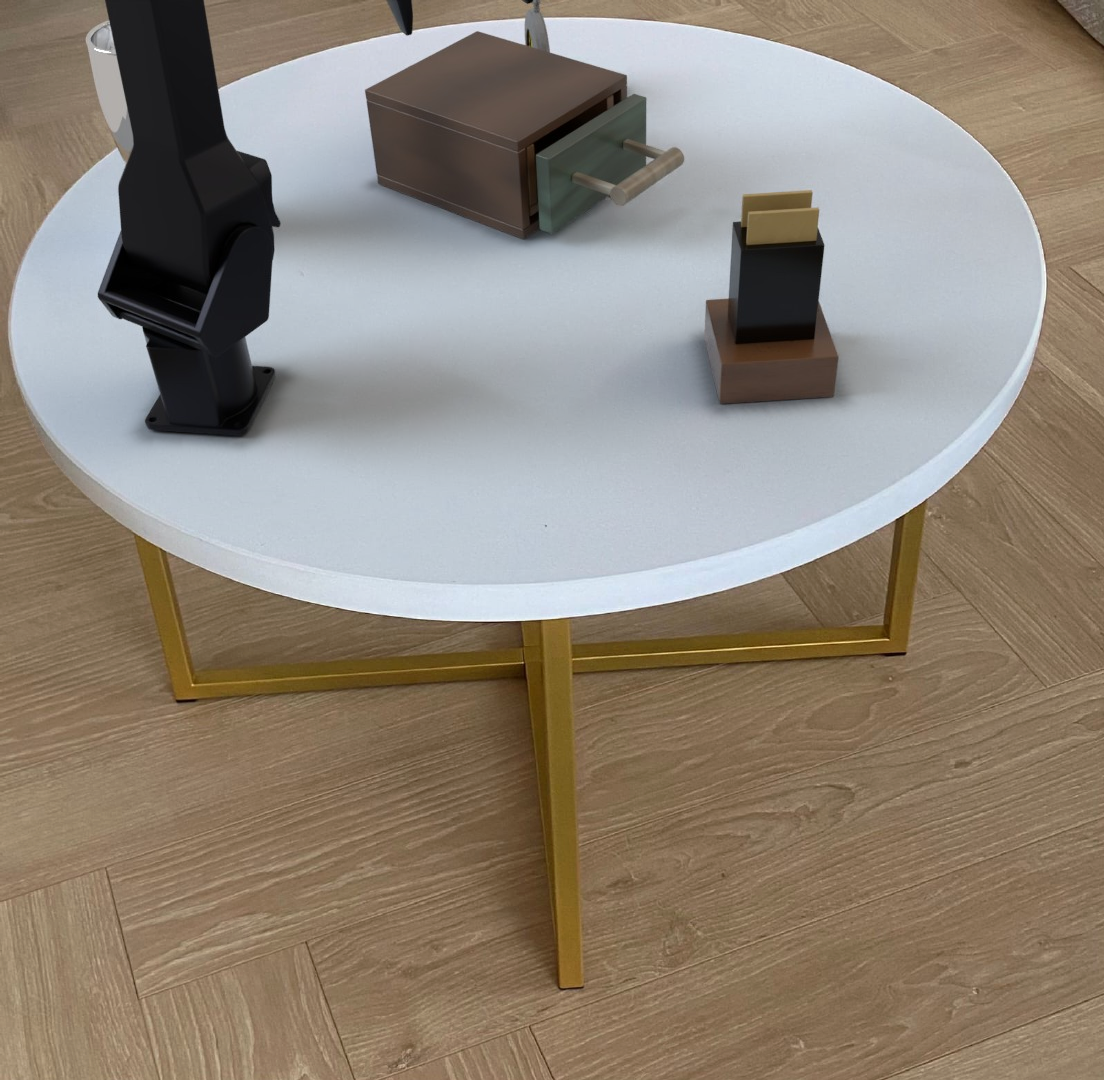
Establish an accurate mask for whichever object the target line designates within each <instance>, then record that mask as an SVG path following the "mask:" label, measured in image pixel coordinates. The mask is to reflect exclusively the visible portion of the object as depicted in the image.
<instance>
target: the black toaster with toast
mask: <svg viewBox="0 0 1104 1080" xmlns="http://www.w3.org/2000/svg"><path fill="white" fill-rule="evenodd" d="M813 193H814V192H813V190H812V189H805V190H791V191H788V190H787V191H774V192H758V193H743V194H742V197H741V199H742V201H741V214H740V221H733V222H732V228H731V229H732V232H731V250H730V265H729V266H730V267H729V268H730V269H729V284H728V298H729V300H728V318H729V322H730V325H731V329H732V333H733V337H734V341H735V344H746V343H762V342H777V341H793V340H809V339H814V338H815V329H816V320H817V311H818V301H819V302H820V292H821V282H822V273H823V263H824V256H825V255H824V254H825V242H824V240H823V238H822V234H821V232H820V229H819V220H820V219H819V217H820V208H819V207H818V206H817V207H816V206H815V207H812V203H813Z"/></svg>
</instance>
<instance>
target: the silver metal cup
mask: <svg viewBox="0 0 1104 1080" xmlns="http://www.w3.org/2000/svg"><path fill="white" fill-rule="evenodd" d="M85 43H86V47H87V51H88V57H89V62H90V67H91V71H92V77H93V81H94V87H95V90H96V94H97V98H98V102H99V105H100V108H101V111H102V114H103V117H104V121H105V123H106V125H107V127H108V130H109V133H110V135H111V137H112V139H113V142H114V144H115V146H116V148H117V151H118V152H119V154H120V156H121V158H122V160H123V162H124V164H125V165H126V163H127V160H128V158H129V155H130V152H131V150H132V147H133V133H132V128H131V124H130V119H129V114H128V109H127V104H126V100H125V95H124V90H123V85H122V80H121V75H120V71H119V66H118V61H117V56H116V51H115V46H114V42H113V37H112V32H111V27H110V22H109V19H108V20H106V21H104V22H100V23H99V24H97V25H95V26H94V27H93V28H92V29H90V30H89V32H87V34H86V36H85ZM125 165H124V166H125Z"/></svg>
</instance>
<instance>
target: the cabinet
mask: <svg viewBox="0 0 1104 1080" xmlns="http://www.w3.org/2000/svg"><path fill="white" fill-rule="evenodd" d="M364 93H365V100H366V107H367V115H368V121H369V129H370V136H371V144H372V150H373V158H374V165H375V172H376V178H377V184H378V185H381V186H383V187H386V188H388V189H390V190H394V191H396V192H399V193H402V194H404V195H406V196H409V197H411V198H414V199H417V200H420V201H422V202H425V203H427V204H430V205H432V206H435V207H437V208H441V209H443V210H446V211H448V212H451V213H453V214H456V215H457V216H461V217H463V218H467V219H468V220H472V221H475V222H476V223H479V224H481V225H485V226H488V227H490V228H492V229H494V230H498V231H500V232H503V233H505V234H508V235H511V236H513V237H515V238H519V239H521V240H525V239H527V238H528V237H530V236H532V235H533V234H534V233H536V232H537V231H539V230H540V226H539V211H538V212H536V213H535V214H533V215H532V216H529V205H528V188H527V171H526V154H525V147H527V146H529V145H530V144H532V143H534V142H535V141H537V140H539V139H540V138H542V137H543V136H545V135H547V134H548V133H550V132H552V131H553V130H555V129H556V128H558V127H560V126H561V125H563V124H565V123H566V122H568V121H569V120H571V119H573V118H574V117H576V116H578V115H579V114H581V113H582V112H584V111H586V110H587V109H589V108H591V107H592V106H594V105H595V104H597V103H599V102H600V101H602V100H604V99H605V98H607V97H608V96H610V95H613V106H615V105H616V104H618V103H619V102H621V101H623V100H624V99H626V98H627V97H628V75H627V74H624V73H621V72H618V71H614V70H612V69H611V70H610V69H607V68H604V67H601V66H597V65H593V64H592V63H587V62H584V61H580V60H578V59H577V60H576V59H573V58H570V57H567V56H563V55H560V54H556V53H553V52H551V51H550V52H546V51H543V50H540V49H536V48H533V47H530V46H526V45H525V44H522V43H519V42H516V41H512V40H509V39H506V38H503V37H499V36H496V35H492V34H488V33H485V32H481V31H478V30H477V31H474V32H473V33H470V34H469V35H467V36H465V37H463V38H461V39H459V40H457V41H456V42H453V43H452V44H449V45H448V46H446V47H444V48H442V49H440V50H438V51H436V52H434V53H432V54H430V55H428V56H426V57H425V58H423V59H420V60H419V61H417V62H416V63H413V64H410V65H409V66H407V67H406V68H404V69H402V70H400V71H398V72H396V73H394V74H392V75H391V76H388V77H386V78H384V79H382V80H381V81H379V82H376V83H374V84H373V85H371V86H370V87H368V88H365V89H364Z"/></svg>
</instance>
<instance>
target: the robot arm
mask: <svg viewBox="0 0 1104 1080" xmlns="http://www.w3.org/2000/svg"><path fill="white" fill-rule="evenodd" d="M385 1H386V2H387V5H388V7H389V9H390V11H391V13H392V15H393V18H394V19H395V22H396V24H397V26H398V28H399V30H400V32H402V33H403V35H405V36H412V35H413V28H414V26H413V25H414V11H413V0H385ZM521 1H522V2H524V3H525V4H527V5H529V4H533V3H532V2H533V0H521ZM104 3H105V8H106V12H107V17H108V20H109V22H110V27H111V32H112V37H113V42H114V46H115V51H116V56H117V61H118V66H119V71H120V75H121V80H122V85H123V90H124V95H125V100H126V104H127V109H128V114H129V119H130V124H131V128H132V133H133V147H132V150H131V152H130V155H129V158H128V160H127V163H126V165H124V168H123V171H122V173H121V176H120V179H119V180H118V181H119V182H118V186H117V187H118V188H117V193H118V204H119V220H120V231H119V235H118V237H117V240H116V243H115V244H114V247H113V251H112V253H111V255H110V258H109V261H108V264H107V267H106V269H105V272H104V275H103V277H102V280H101V283H100V286H99V288H98V291H97V298H98V300H99V301H100V302H101V303H102V305H103V306H104V307H105V309H106V310H107V312H109V314H110V315H111V317H113V318H115V319H118V320H125V321H127V322H130V323H132V324H135V325H138V326H140V327H141V328H142V333H143V336H144V340H145V344H146V345H145V347H146V351H147V354H148V358H149V361H150V364H151V368H152V371H153V375H154V377H155V382H156V385H157V388H158V391H159V395H158V397H157V399H156V400H155V402H154V404H153V405H152V407H151V409H150V410H149V412H148V414H147V415H146V416H145V419H144V424H145V426H146V427H145V428H147V429H148V430H149V431H150V430H151V431H162V432H163V431H164V432H178V433H194V434H208V435H223V436H224V435H226V436H244V435H246V434H248V432H249V431H250V430H251V427H252V425H253V423H254V421H255V419H256V418H257V415H258V413H259V411H260V409H261V407H262V405H263V403H264V402H265V399H266V397H267V396H268V393H269V391H270V390H271V387H272V385H273V383H274V381H275V379H276V378H277V375H276V374H277V373H276V370H275V368H274V367H271V366H262V365H261V366H260V365H259V366H258V365H253V363H252V360H251V355H250V352H249V347H248V343H247V342H248V341H247V339H246V337H247V336H248V335H250V334H251V333H252V332H254V331H255V330H256V329H258V328H260V327H261V326H262V325H263V324H265V323H266V322H267V321H268V320H269V318H270V307H271V303H270V302H271V292H272V291H271V289H272V275H273V260H274V256H275V255H274V254H275V248H276V247H275V233H274V228H278V229H279V228H280V227H281V224H282V223H281V221H280V218H279V216H278V215H277V212H276V209H275V206H274V205H275V204H274V202H273V177H272V175H273V174H272V172H271V169H270V167H269V163H268V162H267V159H265V158H262V157H260V156H256V155H253V154H250V153H246V152H243V151H239V150H237V149H236V147H235V146H234V145H233V143H232V142H231V140H230V139H229V136H228V135H227V131H226V128H225V122H224V116H223V109H222V103H221V98H220V92H219V84H218V79H217V74H216V73H217V72H216V65H215V60H214V54H213V49H212V41H211V36H210V29H209V23H208V17H207V12H206V5H205V0H104ZM273 227H274V228H273Z"/></svg>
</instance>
